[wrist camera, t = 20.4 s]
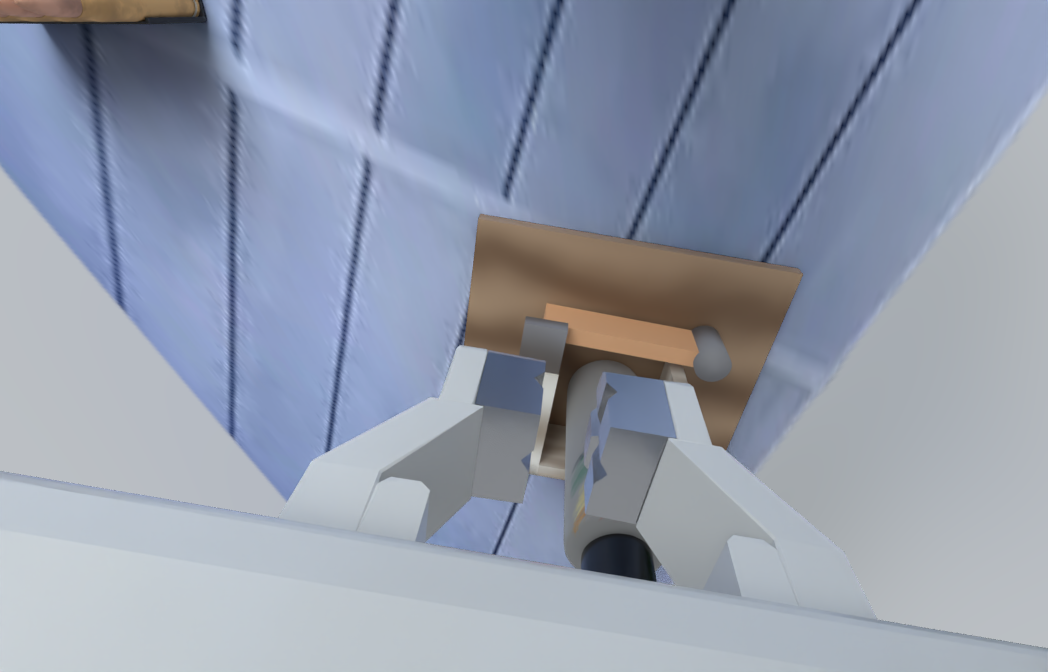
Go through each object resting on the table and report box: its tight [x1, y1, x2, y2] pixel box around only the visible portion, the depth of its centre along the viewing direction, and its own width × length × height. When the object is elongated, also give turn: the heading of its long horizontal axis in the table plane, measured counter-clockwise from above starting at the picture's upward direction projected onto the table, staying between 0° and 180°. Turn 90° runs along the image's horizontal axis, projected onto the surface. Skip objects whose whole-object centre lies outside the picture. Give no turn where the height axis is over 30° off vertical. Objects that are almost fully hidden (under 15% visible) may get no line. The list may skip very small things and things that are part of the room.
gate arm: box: [543, 303, 732, 382], centre depth 39 cm, size 13×2×4 cm, turn 80°
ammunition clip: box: [0, 0, 206, 24], centre depth 29 cm, size 11×2×12 cm, turn 90°
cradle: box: [464, 214, 803, 480], centre depth 41 cm, size 20×22×6 cm
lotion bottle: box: [564, 360, 662, 582], centre depth 35 cm, size 6×6×20 cm
